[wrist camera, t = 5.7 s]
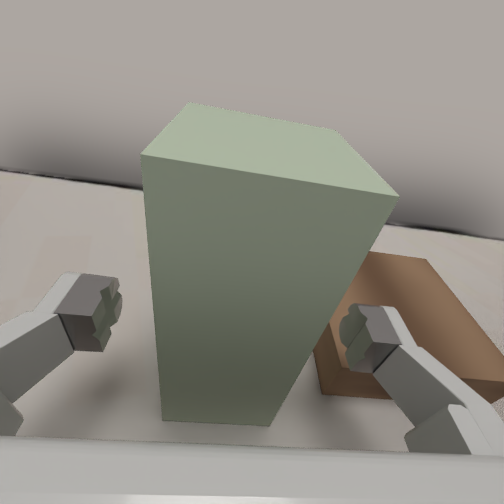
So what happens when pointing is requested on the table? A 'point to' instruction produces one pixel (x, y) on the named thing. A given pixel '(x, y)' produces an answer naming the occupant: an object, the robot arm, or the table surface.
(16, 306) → the table surface
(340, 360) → the slab
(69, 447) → the robot arm
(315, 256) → the column
